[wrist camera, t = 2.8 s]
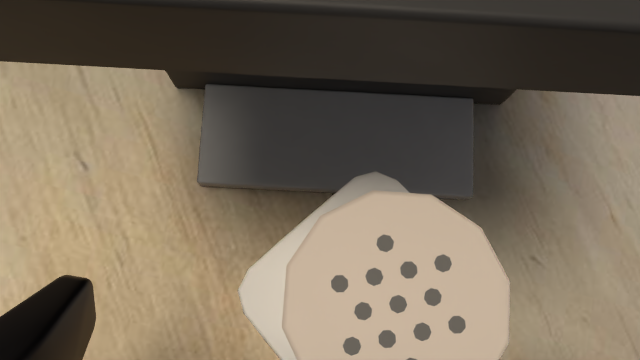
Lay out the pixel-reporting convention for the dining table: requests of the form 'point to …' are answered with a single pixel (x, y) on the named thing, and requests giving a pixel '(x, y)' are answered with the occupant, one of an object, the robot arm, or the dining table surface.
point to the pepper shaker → (380, 281)
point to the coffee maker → (340, 75)
